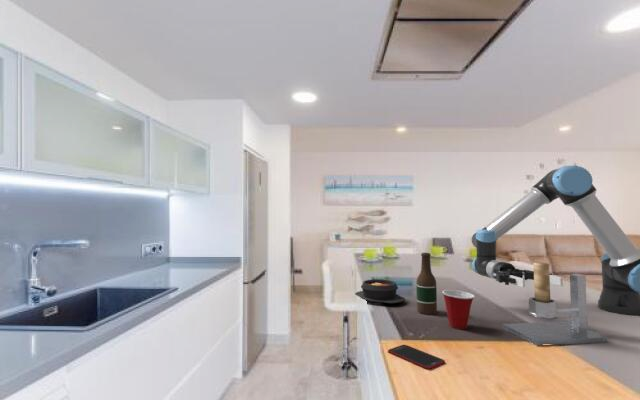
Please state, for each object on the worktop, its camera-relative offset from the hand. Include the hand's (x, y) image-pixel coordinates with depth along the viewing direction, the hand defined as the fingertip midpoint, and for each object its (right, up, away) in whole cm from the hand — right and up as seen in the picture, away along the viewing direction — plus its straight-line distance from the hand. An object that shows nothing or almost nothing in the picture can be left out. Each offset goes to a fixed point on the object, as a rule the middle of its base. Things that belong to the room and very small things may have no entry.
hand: (542, 282), depth 114 cm
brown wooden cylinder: (0, -10, 0) cm, 10 cm away
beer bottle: (-30, -19, +27) cm, 44 cm away
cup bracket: (+3, -17, 0) cm, 18 cm away
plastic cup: (-24, -18, +9) cm, 31 cm away
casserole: (-46, -19, +46) cm, 68 cm away
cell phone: (-47, -18, -16) cm, 53 cm away
